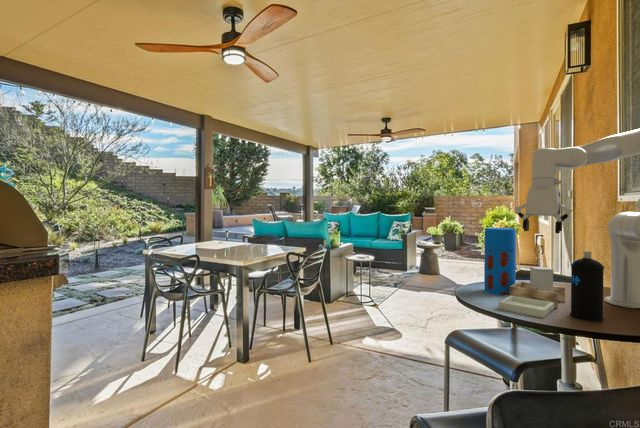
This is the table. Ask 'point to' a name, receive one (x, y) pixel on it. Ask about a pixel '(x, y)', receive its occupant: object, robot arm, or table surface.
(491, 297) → the table surface
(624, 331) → the table surface
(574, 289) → the aerosol can
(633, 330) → the table surface
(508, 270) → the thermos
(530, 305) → the tray
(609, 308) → the table surface
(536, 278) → the skincare box
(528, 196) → the robot arm
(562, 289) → the bay
